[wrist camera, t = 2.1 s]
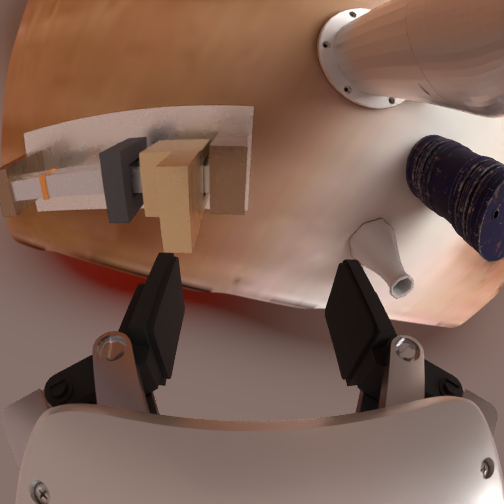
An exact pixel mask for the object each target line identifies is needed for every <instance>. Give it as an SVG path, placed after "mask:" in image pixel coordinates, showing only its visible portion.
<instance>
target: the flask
mask: <svg viewBox="0 0 504 504" xmlns="http://www.w3.org/2000/svg"><path fill="white" fill-rule="evenodd" d="M349 242H350V250H351V256H352V257H353V258H355V259H356V260H358V261H359V262H360V263H361V264H363V265H364V266H365V267H367V268H369V269H370V270H372V271H374V272H375V273H377V274H378V275H380V276H381V277H382V278H383V279H384V280H385V281H386V283H387V284H388V286H389V287H390V294H391V295H392V296H393V297H394V298H396V299H397V298H400V297H403V296H405V295H407V294H408V293H409V292H410V291H411V290H412V289H413V284H414V280H413V279H412V278H411V277H410V276H409V275H408V274H406V272H405V271H404V268H403V266H402V263H401V261H400V257H399V252H398V248H397V243H396V238H395V233H394V229H393V228H391V227H390V226H389V225H388V224H387V223H386V222H385V221H384V220H383V219H378V220H375V221H371V222H368V223H364V224H363V225H362V226H361V227H360V228H359V229H358V230H357V231H356V232H355V233H354V234H353V236H352V237H351V238H350V239H349Z"/></svg>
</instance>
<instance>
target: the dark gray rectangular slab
mask: <svg viewBox="0 0 504 504" xmlns="http://www.w3.org/2000/svg"><path fill="white" fill-rule="evenodd" d="M145 149H147V137H137V138H128V139H126V140H124V141H122V142H120V143H118V144H116V145H114V146H112V147H110V148H108V149H106V150H104V151H102V152H100V153H99V157H100V166H101V174H102V181H103V188H104V195H105V201H106V207H107V212H108V217H109V223H129V222H130V221H131V220H132V218H133V217H134V216H135V215H136V213H137V212H138V211H139V209H140V208H141V207H142V206H143V204H144V202H143V193H132V187H131V178H130V168H129V164H131V163H132V162H134V161H140V160H139V153H140V152H142V151H144V150H145Z"/></svg>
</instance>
